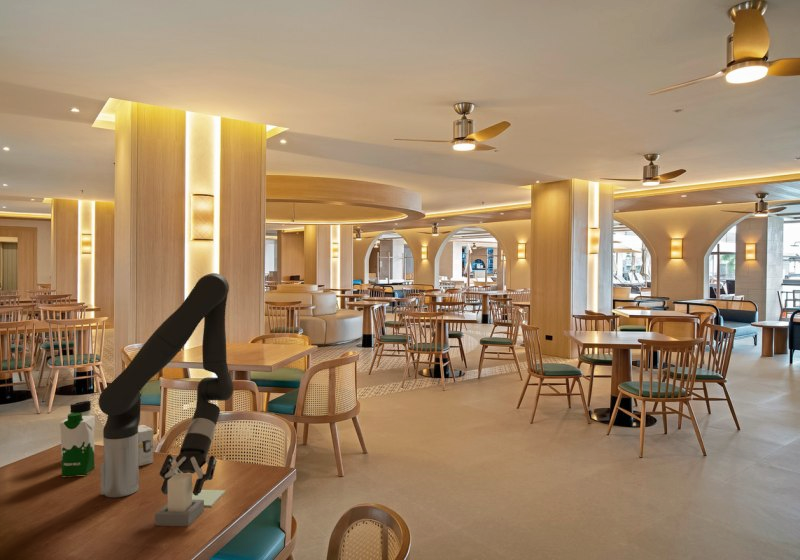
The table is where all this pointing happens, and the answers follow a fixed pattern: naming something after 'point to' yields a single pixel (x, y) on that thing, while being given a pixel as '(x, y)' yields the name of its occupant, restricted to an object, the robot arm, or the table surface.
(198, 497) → the mat
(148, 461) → the ink box
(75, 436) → the milk carton
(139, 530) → the table surface
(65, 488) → the table surface
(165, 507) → the grey square frame
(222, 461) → the table surface
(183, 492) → the cream carton
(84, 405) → the travel mug
